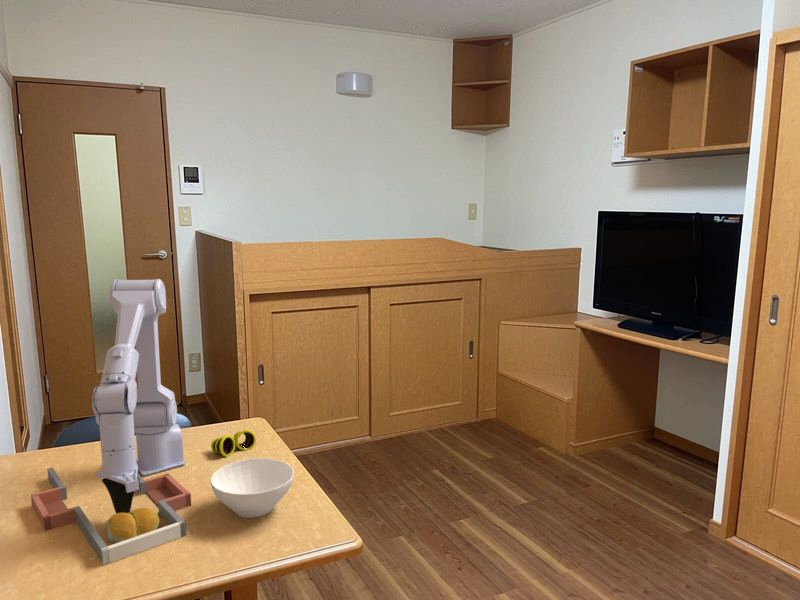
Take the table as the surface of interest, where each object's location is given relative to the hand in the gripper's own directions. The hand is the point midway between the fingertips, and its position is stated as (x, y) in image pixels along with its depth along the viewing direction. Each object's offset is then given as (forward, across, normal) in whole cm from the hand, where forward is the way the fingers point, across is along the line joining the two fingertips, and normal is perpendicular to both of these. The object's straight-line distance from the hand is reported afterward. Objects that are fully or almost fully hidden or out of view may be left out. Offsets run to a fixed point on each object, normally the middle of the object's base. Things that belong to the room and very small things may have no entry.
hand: (123, 513), depth 113 cm
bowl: (+2, +12, +21) cm, 24 cm away
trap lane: (+1, -8, 0) cm, 8 cm away
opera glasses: (+2, -17, +31) cm, 35 cm away
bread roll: (+2, +5, 0) cm, 5 cm away
